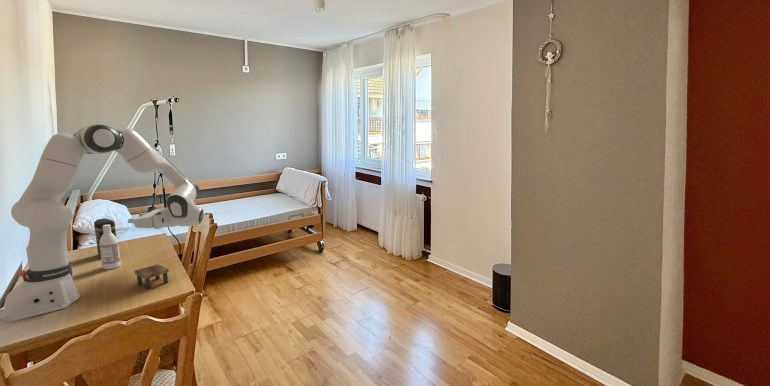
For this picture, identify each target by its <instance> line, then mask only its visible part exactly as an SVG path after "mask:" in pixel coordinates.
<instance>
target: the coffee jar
mask: <svg viewBox="0 0 770 386" xmlns="http://www.w3.org/2000/svg"><path fill="white" fill-rule="evenodd" d="M103 225H111V226H110V227H111V232H112V233H113V234H114V235H115V236H116V238H117V231H116V223H115V221H114V220H112V219H109V218H106V217H105V218H99V219H96V220H95V221H94V222H93V228H94V233H95V241H96V247H97V253H98V257H99V256H100V257H101V252H100V244H99V242H100V239H101V237H102V235H103V234H104V233H103ZM117 239H118V238H117Z"/></svg>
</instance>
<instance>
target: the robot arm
mask: <svg viewBox="0 0 770 386" xmlns="http://www.w3.org/2000/svg"><path fill="white" fill-rule="evenodd" d="M110 152H115V153H117V154H119V155H120V157H122V159H124V161H125V162H126V163H127V164H128V165H129V166H130V167H131V168H132V169H133V170H134V171H135V172H138V173H142V174H149V173H154V172H157V173H160V174H162V176H164V178H166V179H167V180H168V181H169V182H170V183H171V184H172V185H173V187H174V189H173V191H171V193H170V194H169V196H168V197H167V198H166V202H165V203H166V207H161V208H157V209H156V208H155V209H153V210H151V211H149V212H144V213H143V212H141V213H138V217H137V218H133V217H132V218H128V219H127V223H128V224H133V225H134V227H135V228H137V229H138V228H139V229H153V228H154V230H160V229H163V228H172V227H173V228H175V227H177V226H178V227H193V226H194V227H195V226H198V225H200V224H201V223H202V222H203V219H204V215H205V213H204V208H201V207H199V206H198V205H197V204H196V203H195V202H194V201H195V200H196V199H197V198H198V197H199V195H200V188H199V185H197V183H195V182H194V181H193V180H191V179H189V178H188V177H187V176H185V174H183V172H181V171H180V170H179V169H178V168H177V167H176V166H175V165H174V164H173V163H172V162H171V161H170V160H169V159H167V158H166V157H164V156H163V155H161V154H160V153H158V152H157V151H155V149H154V148H153V147H152V146H151V145H150V144H149V143H148V142H147V140H145V138H143V136H141V135H140V134H139V133H138V132H136V130H134V129H132V128H123V129H120V130H118V129H115V128H113V127H111V126H108V125H105V124H91V125H88V126H85V127H83V128H81V129H80V130H78V131H77V132H75V133H74V134H69V133H55V134H54V135H52V136H51V137H50V139H49V140H48V142H47V144H46V145H45V147H44V148H43V150H42V153H41V155H40V158H39V161H38V164H37V167H36V169H35V171H34V173H33V177H32V179H31V181H30V182H29V184H28V186H27V188H26V189H25V191H24V192H23V193H22V195H21V197H19V199H18V201H16V202H15V203H14V204H13V205H12V207H11V210H10V215H11V216H12V219H13V220H14V221H15V222H16V223H17V224H19V225H20V226H23V227H25V228H28V230H29V237H28V238H29V240H28V245H27V246H26V248H25V250H26V257H27V262H28V269H27V270H26V271H25V270H23V269H20V270H19V271H18V272H17V274H18V276H19V277H22V280H23V281H22V282H21V283H20V284H18V285H17V286H15V288H13V289H12V290H11V291H9V293H8V294H7V295H6V297H5V301H4V307H1V308H0V321H2V322H8V323H9V322H11V323H13V322H15V321H20V320H24V319H27V318H32V317H35V316H39V315H40V316H41V315H44V314H47V313H52V312H55V311H58V310H63V309H66V308H68V307H69V306H70V305H71V304H73V303H74V302H76V301H77V300H79V298H80V297H81V295H80V294H79V292H78V290H77V288H76V286H75V282H74V280H73V267H72V263H71V262H70V259H69V251H68V246H67V245H68V244H67V238H68V232H69V231H68V230H69V226H70V225H71V224H72V222H73V215H74V214H73V213H72V210H71V209H70V208H69V207H67V206H66V205H65V204H63V203H61V202H60V201H61V199H63V198H64V195H66V193H67V192H68V191H70V190H71V188H72V187H73V184H74V182H75V178H76V175H77V172H78V170H79V167H80V163H81V160H82V158H83V157H84V155H86V154H90V155H101V154H106V153H110Z"/></svg>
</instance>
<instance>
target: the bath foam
mask: <svg viewBox="0 0 770 386" xmlns="http://www.w3.org/2000/svg"><path fill="white" fill-rule="evenodd" d="M110 226H111V225H103V233H104V234H103V235H102V237H101V239H100V242H99V244H100V252H101V256H100V258H101V259H100V260H101V265H102V267H101V268H102V269H103V270H113V269H116V268H119V267H120V266H121V262H122V261H121V256H120V247H119V241H118V238H116V237H117V235H116V236H115V235H114V234H113V233H112V232H111V227H110Z"/></svg>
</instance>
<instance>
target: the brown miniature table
mask: <svg viewBox="0 0 770 386" xmlns="http://www.w3.org/2000/svg"><path fill="white" fill-rule="evenodd" d="M168 273H169V268H167V267H165V266H163V265H160V264H153V265H151V266H147V267H143V268H139V269H137V270H134V274H135V275H136V279H137V280H136V282H137V285H138V286H141V285H143V279H144V284H145V289H146V290H150V289H151V282H150V281H151V280H150V278H154V279H155V280H160V279H161V275H162V277H163V284H168V283H169V277H168Z"/></svg>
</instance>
